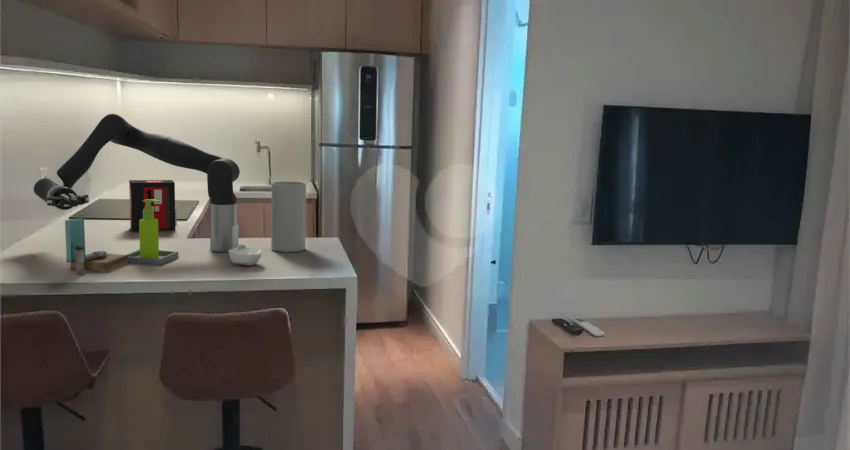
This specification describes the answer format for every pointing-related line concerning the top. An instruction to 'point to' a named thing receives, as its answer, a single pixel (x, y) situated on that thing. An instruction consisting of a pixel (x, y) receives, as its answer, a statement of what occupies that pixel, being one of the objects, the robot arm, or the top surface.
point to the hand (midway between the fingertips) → (75, 203)
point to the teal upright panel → (77, 241)
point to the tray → (163, 258)
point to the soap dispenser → (149, 232)
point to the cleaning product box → (157, 191)
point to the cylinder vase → (288, 216)
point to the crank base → (97, 262)
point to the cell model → (245, 255)
